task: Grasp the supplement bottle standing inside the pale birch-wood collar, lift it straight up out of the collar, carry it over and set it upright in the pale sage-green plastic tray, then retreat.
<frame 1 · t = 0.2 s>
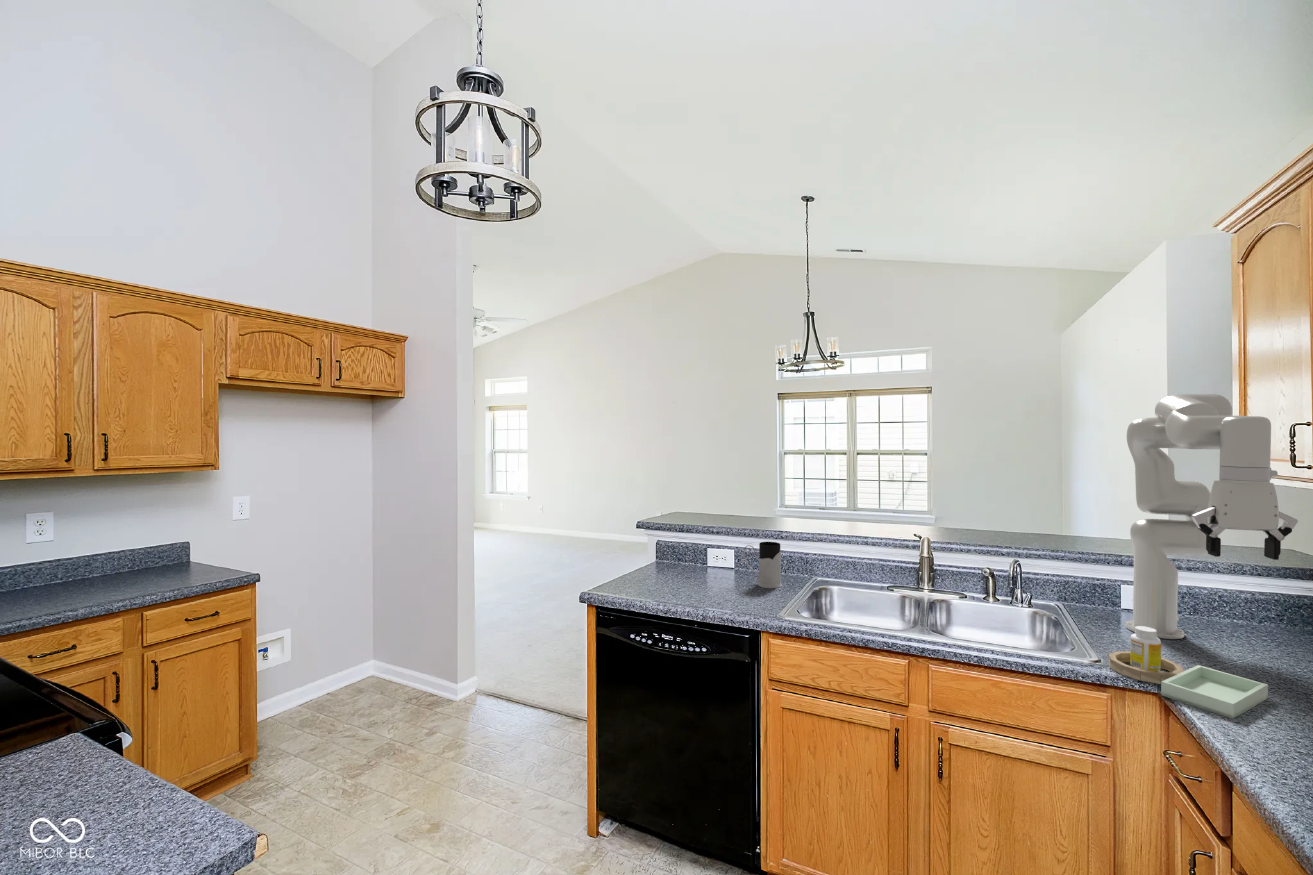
hand: (1242, 556, 124), 31 cm above the worktop, tool pointing down, fingers open, 9 cm apart
tray: (1214, 696, 127), on the worktop
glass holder: (762, 584, 216), on the worktop
supplement bottle: (1145, 672, 140), resting in collar
collar: (1145, 671, 140), on the worktop
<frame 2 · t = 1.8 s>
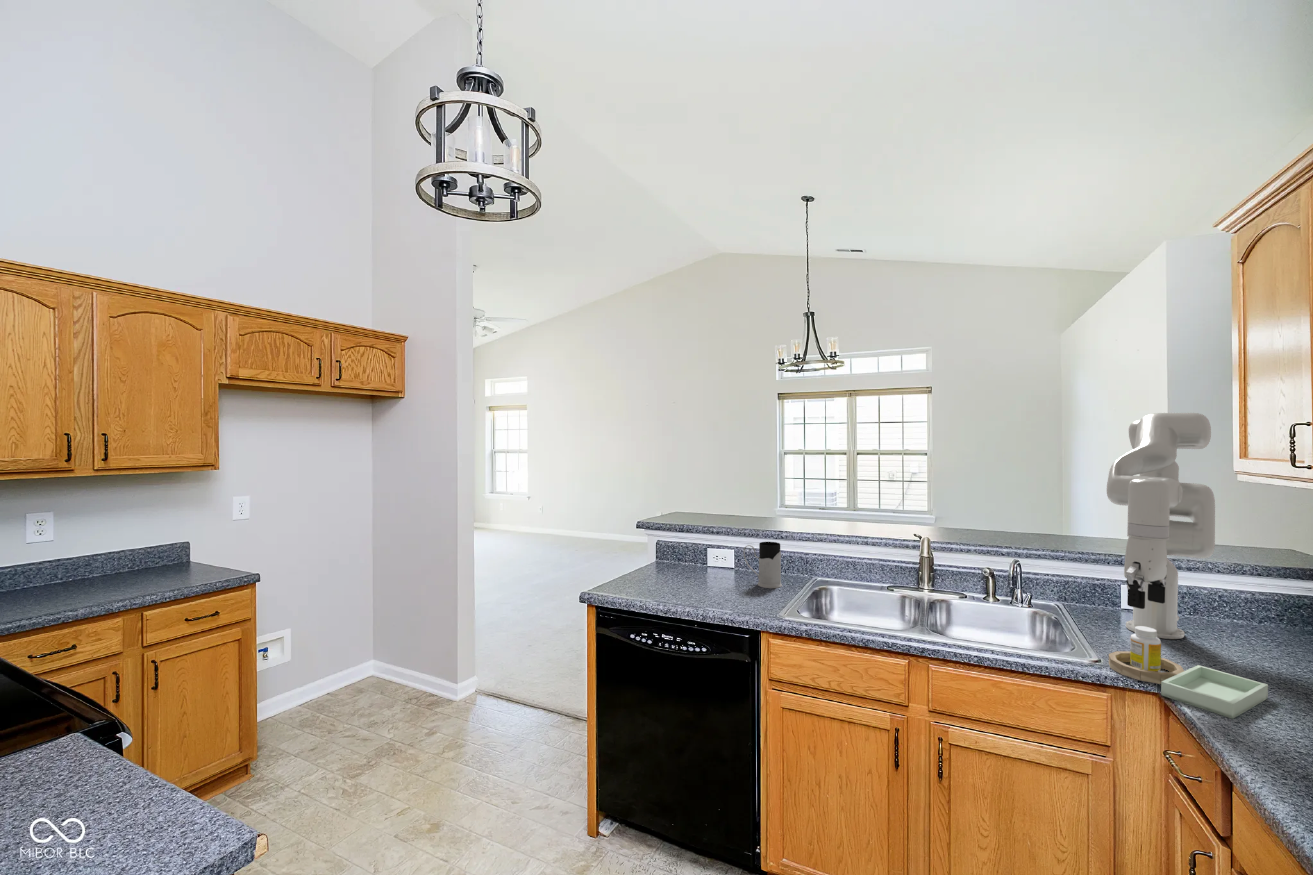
hand: (1146, 604, 139), 16 cm above the worktop, tool pointing down, fingers open, 9 cm apart
nothing on the worktop moved.
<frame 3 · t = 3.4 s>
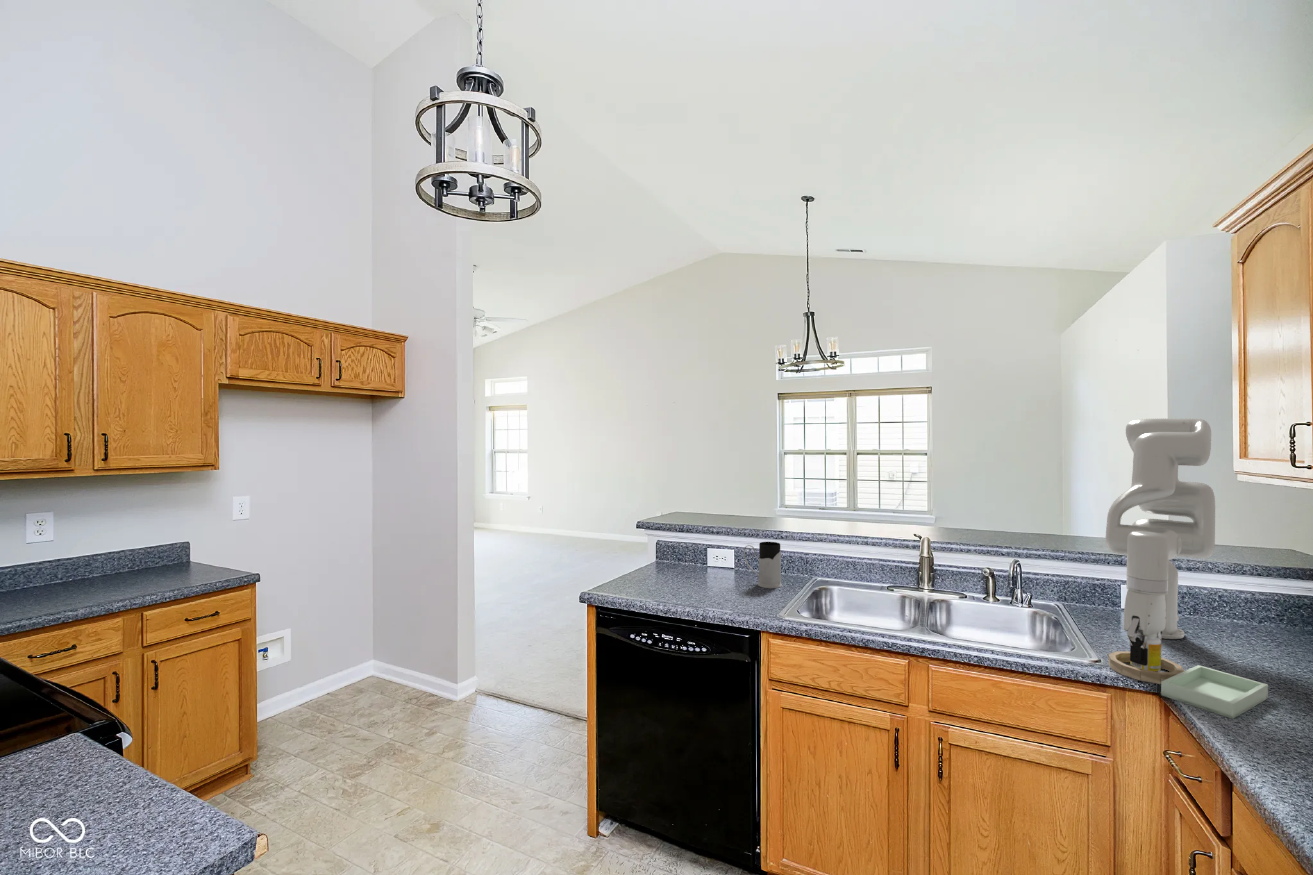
hand: (1145, 660, 140), 3 cm above the worktop, tool pointing down, fingers closed on supplement bottle, 5 cm apart
supplement bottle: (1145, 672, 140), resting in collar, touching gripper
everything else where it was.
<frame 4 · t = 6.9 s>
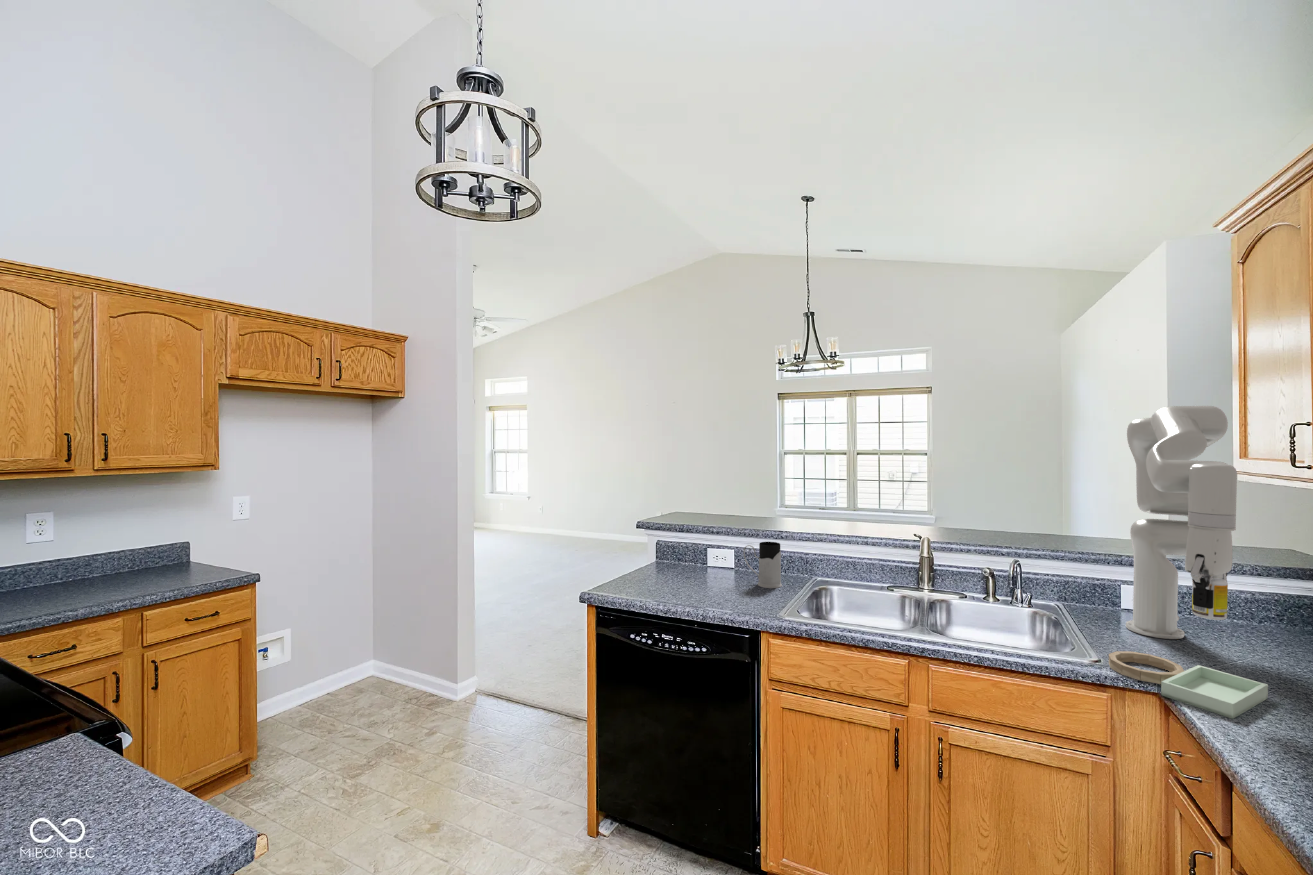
hand: (1209, 604, 127), 20 cm above the worktop, tool pointing down, fingers closed on supplement bottle, 5 cm apart
supplement bottle: (1209, 617, 128), point 17 cm above the worktop, touching gripper
everything else where it was.
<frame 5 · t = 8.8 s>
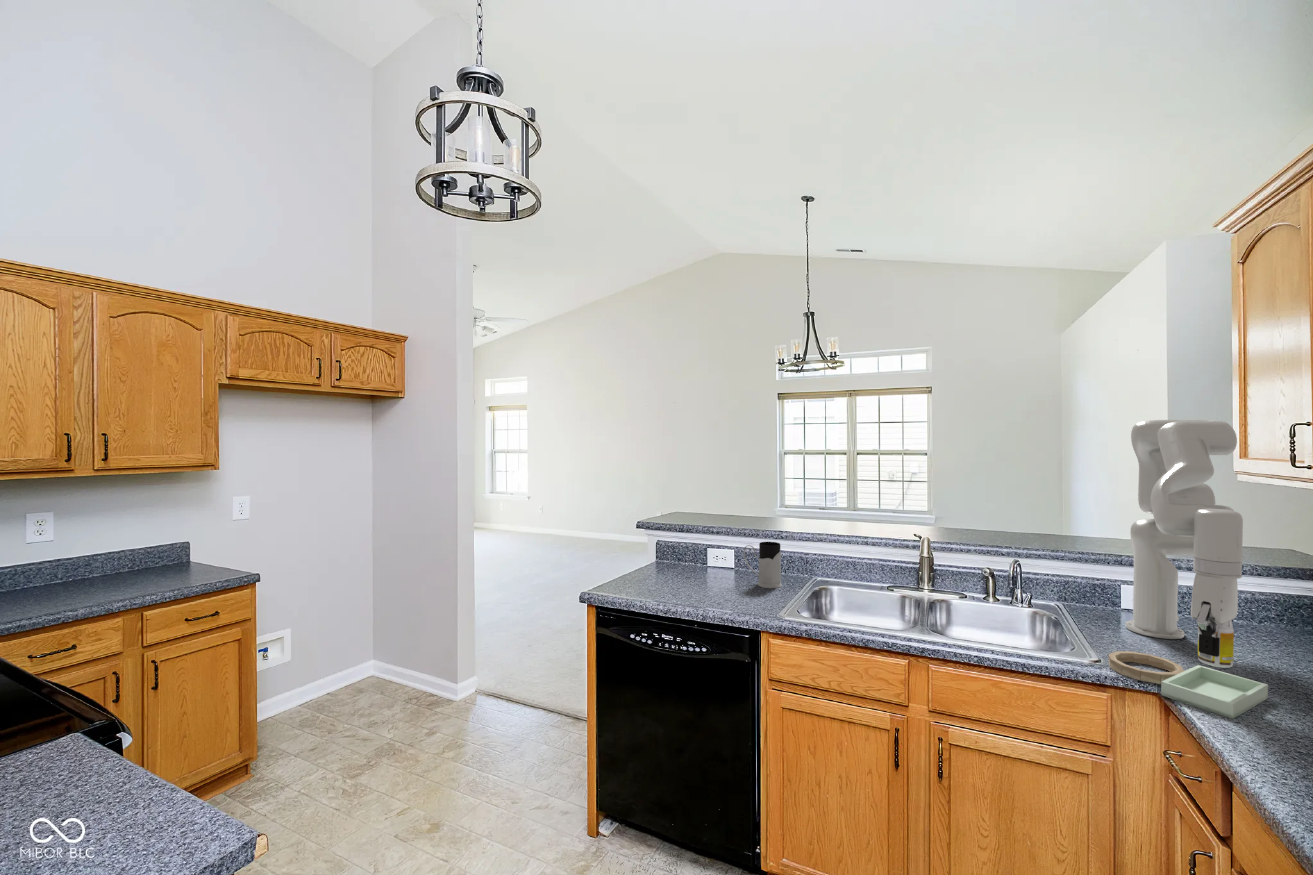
hand: (1215, 650, 127), 10 cm above the worktop, tool pointing down, fingers closed on supplement bottle, 5 cm apart
supplement bottle: (1214, 664, 127), point 7 cm above the worktop, touching gripper
everything else where it was.
when the fingers open (5 cm above the worktop, at t = 10.3 s): supplement bottle drops 1 cm, resting on tray.
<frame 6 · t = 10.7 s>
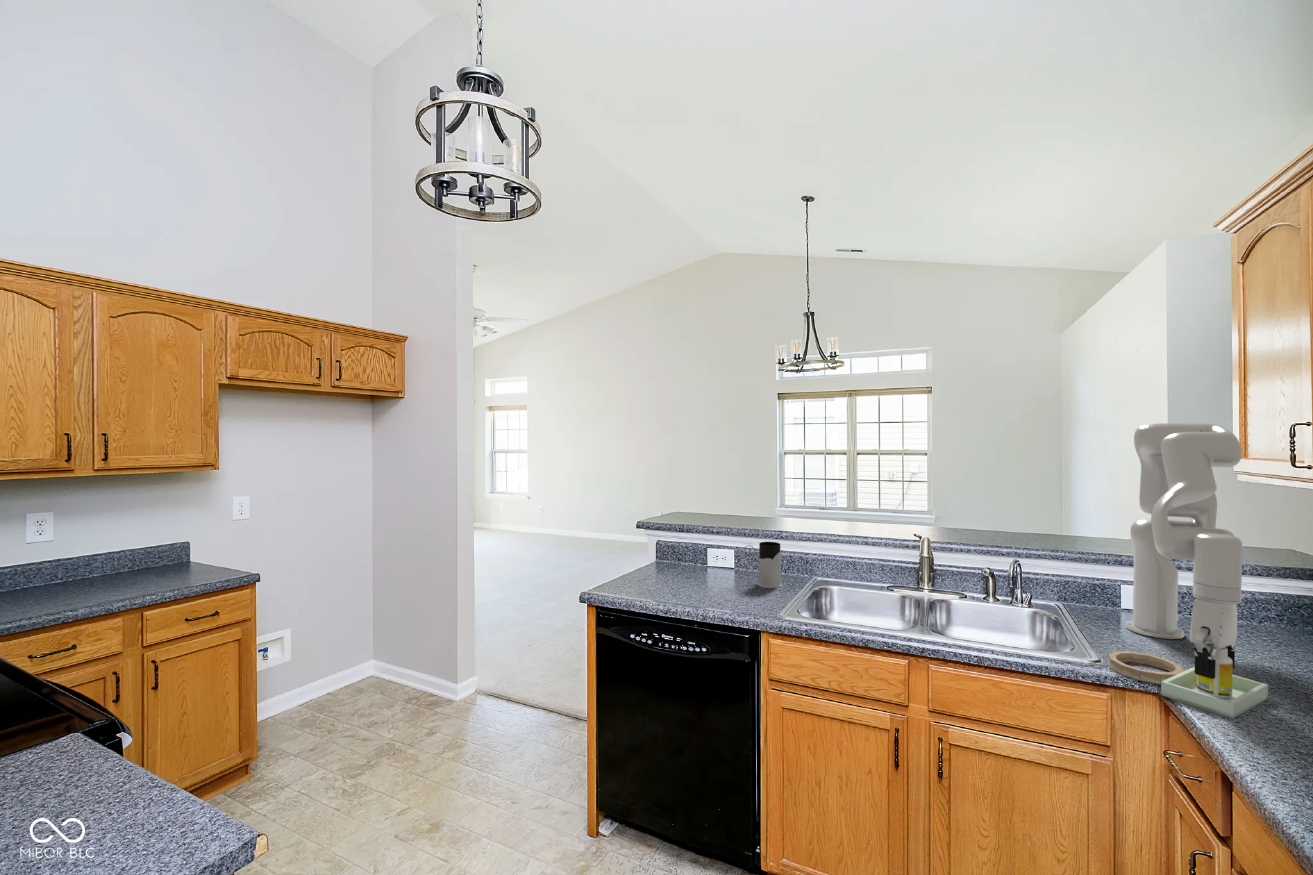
hand: (1214, 671, 127), 5 cm above the worktop, tool pointing down, fingers open, 9 cm apart
supplement bottle: (1213, 694, 127), resting on tray
everything else where it was.
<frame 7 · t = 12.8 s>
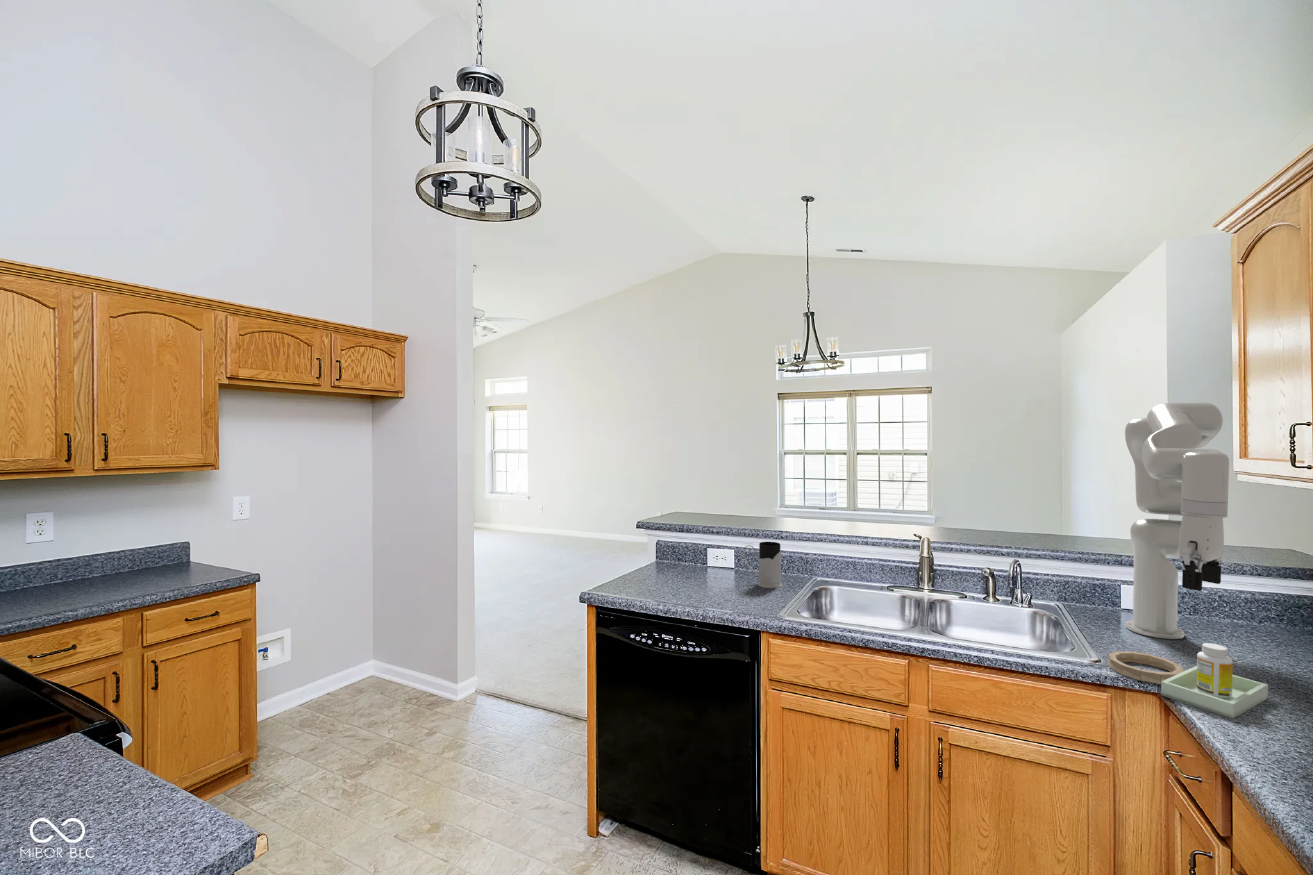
hand: (1201, 585, 130), 23 cm above the worktop, tool pointing down, fingers open, 9 cm apart
nothing on the worktop moved.
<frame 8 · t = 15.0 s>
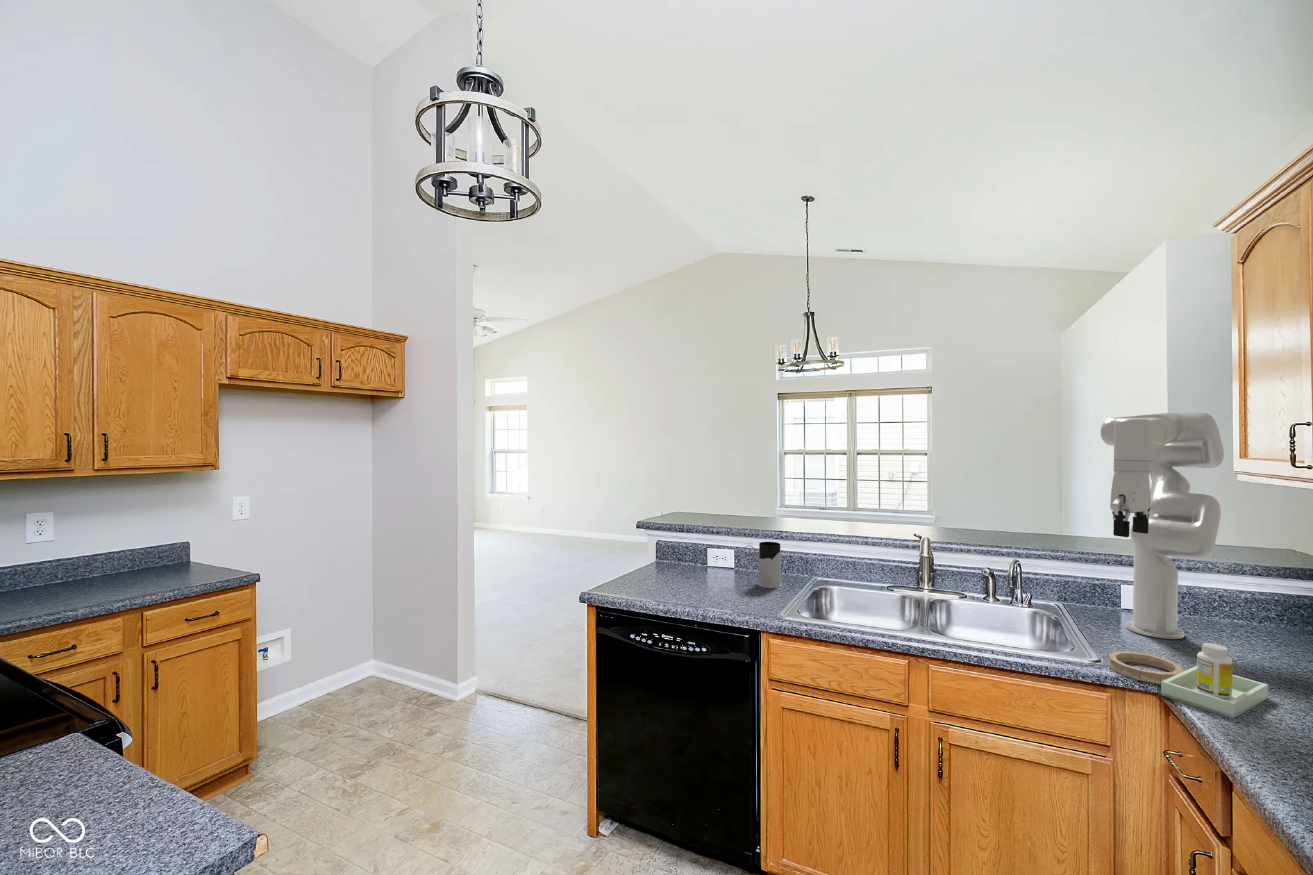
hand: (1131, 534, 150), 30 cm above the worktop, tool pointing down, fingers open, 9 cm apart
nothing on the worktop moved.
at the end: supplement bottle inside the target area on the tray (0.3 cm from its centre), point 0.4 cm above the tray's base; supplement bottle tilted 0°; the gripper is holding nothing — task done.
